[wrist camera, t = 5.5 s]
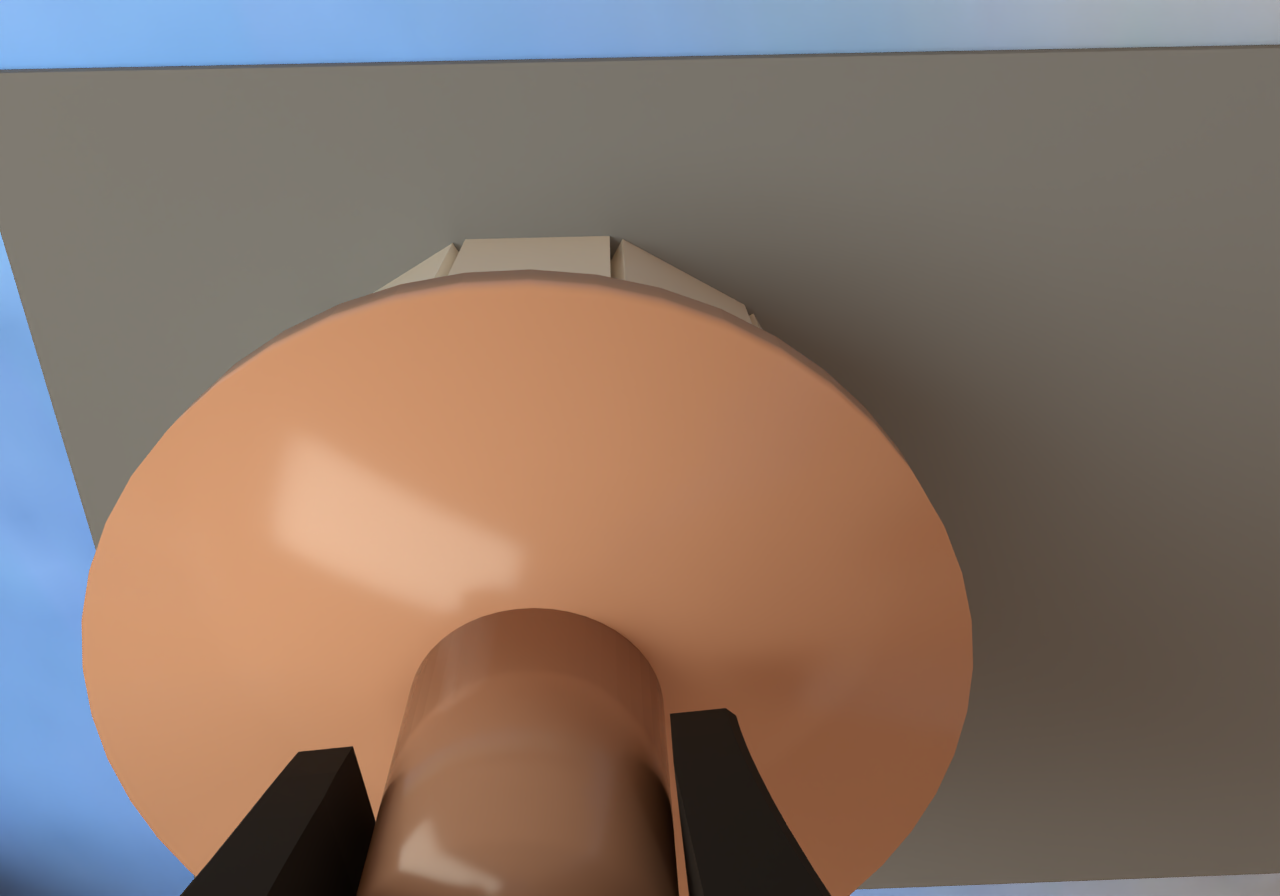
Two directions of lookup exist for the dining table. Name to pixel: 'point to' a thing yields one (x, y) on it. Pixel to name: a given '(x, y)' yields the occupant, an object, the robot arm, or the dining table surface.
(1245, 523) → the mat
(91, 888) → the dining table surface
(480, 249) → the bowl
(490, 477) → the lid
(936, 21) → the dining table surface
